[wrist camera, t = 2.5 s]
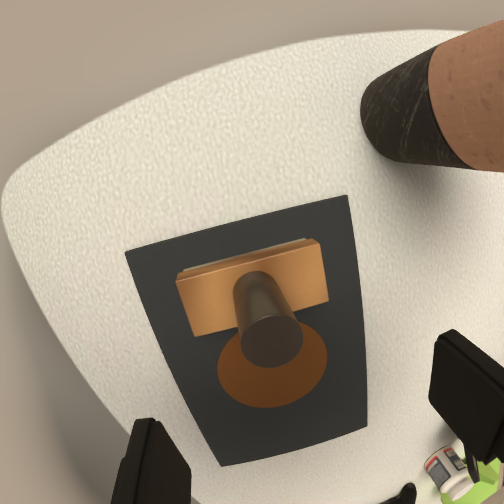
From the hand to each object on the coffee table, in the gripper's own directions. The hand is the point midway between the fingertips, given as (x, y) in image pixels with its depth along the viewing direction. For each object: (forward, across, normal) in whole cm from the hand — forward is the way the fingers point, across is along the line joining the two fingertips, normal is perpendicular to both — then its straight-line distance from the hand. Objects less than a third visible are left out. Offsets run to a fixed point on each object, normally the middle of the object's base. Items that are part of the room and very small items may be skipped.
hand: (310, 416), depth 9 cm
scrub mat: (+14, +1, +8) cm, 16 cm away
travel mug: (+14, -13, -9) cm, 22 cm away
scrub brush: (+14, +1, 0) cm, 14 cm away
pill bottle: (+15, -20, +38) cm, 45 cm away
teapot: (+15, -29, +51) cm, 61 cm away
